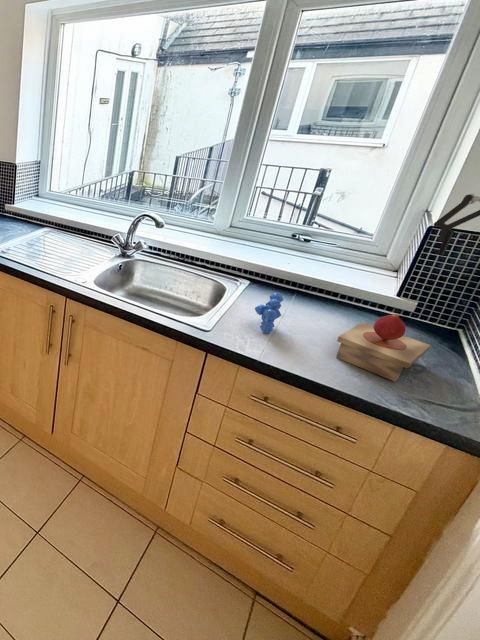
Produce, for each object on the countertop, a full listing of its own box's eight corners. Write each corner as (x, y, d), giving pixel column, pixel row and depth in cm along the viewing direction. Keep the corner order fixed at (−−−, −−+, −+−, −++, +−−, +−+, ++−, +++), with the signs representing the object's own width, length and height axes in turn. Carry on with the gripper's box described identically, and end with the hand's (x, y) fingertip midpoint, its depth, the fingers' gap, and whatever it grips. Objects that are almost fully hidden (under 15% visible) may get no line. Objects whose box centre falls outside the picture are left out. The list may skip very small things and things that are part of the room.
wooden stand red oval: (421, 364, 110) (431, 344, 108) (400, 384, 102) (410, 362, 100) (355, 340, 121) (362, 321, 119) (331, 355, 114) (338, 335, 112)
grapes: (252, 317, 133) (262, 283, 128) (277, 324, 129) (289, 290, 124) (245, 332, 125) (257, 297, 120) (273, 341, 121) (285, 304, 116)
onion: (367, 339, 110) (379, 313, 107) (370, 331, 114) (382, 305, 111) (397, 349, 106) (411, 322, 103) (400, 340, 110) (412, 314, 107)
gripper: (438, 172, 107) (407, 250, 115) (607, 190, 87) (556, 282, 95) (447, 170, 111) (416, 246, 119) (611, 186, 91) (561, 276, 99)
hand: (478, 262), depth 107 cm, fingers open, 13 cm apart
